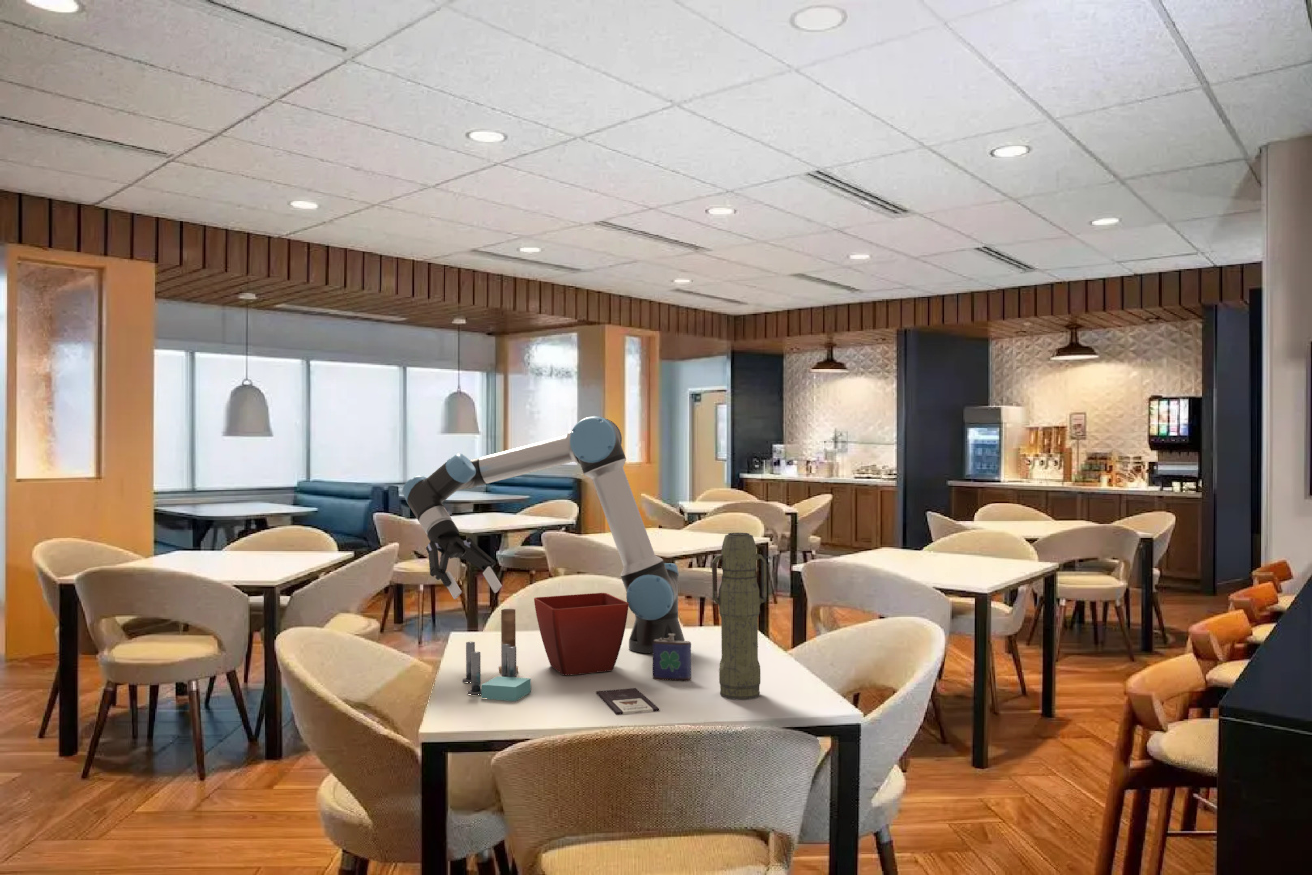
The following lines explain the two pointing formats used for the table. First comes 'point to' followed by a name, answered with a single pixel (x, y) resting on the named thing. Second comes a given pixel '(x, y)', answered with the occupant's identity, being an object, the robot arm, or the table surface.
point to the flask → (671, 659)
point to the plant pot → (582, 631)
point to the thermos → (739, 615)
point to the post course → (475, 671)
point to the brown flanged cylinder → (508, 630)
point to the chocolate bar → (627, 701)
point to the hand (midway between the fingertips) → (478, 592)
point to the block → (506, 688)
